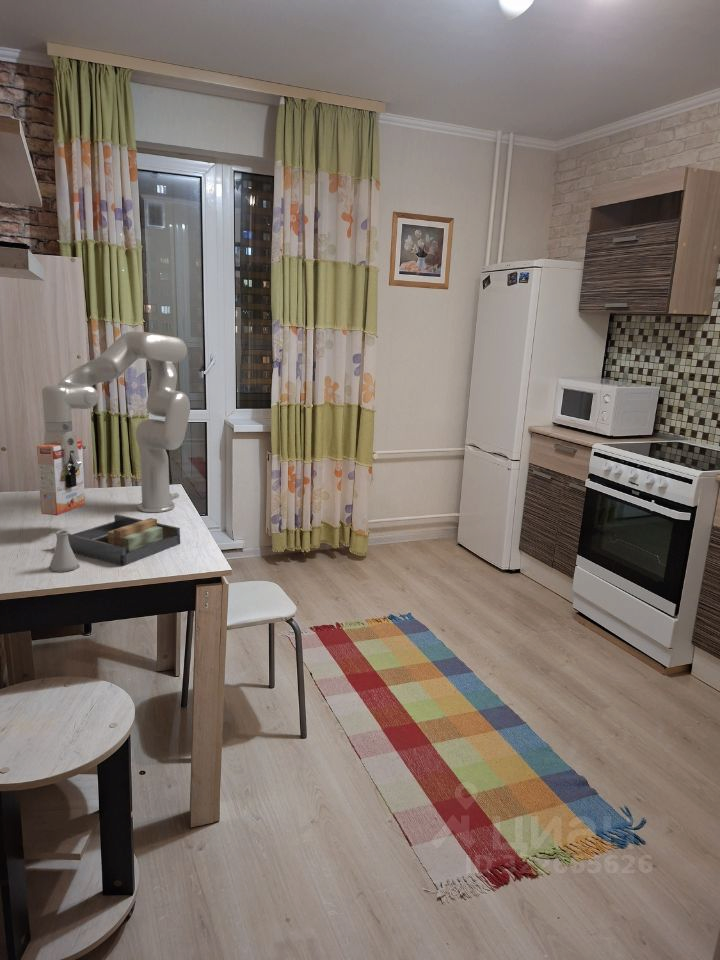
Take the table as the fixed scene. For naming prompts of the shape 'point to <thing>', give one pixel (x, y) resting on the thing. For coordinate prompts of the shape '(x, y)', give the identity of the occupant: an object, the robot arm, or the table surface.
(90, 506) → the table surface
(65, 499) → the cracker box
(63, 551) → the flask
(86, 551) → the tray
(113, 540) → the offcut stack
